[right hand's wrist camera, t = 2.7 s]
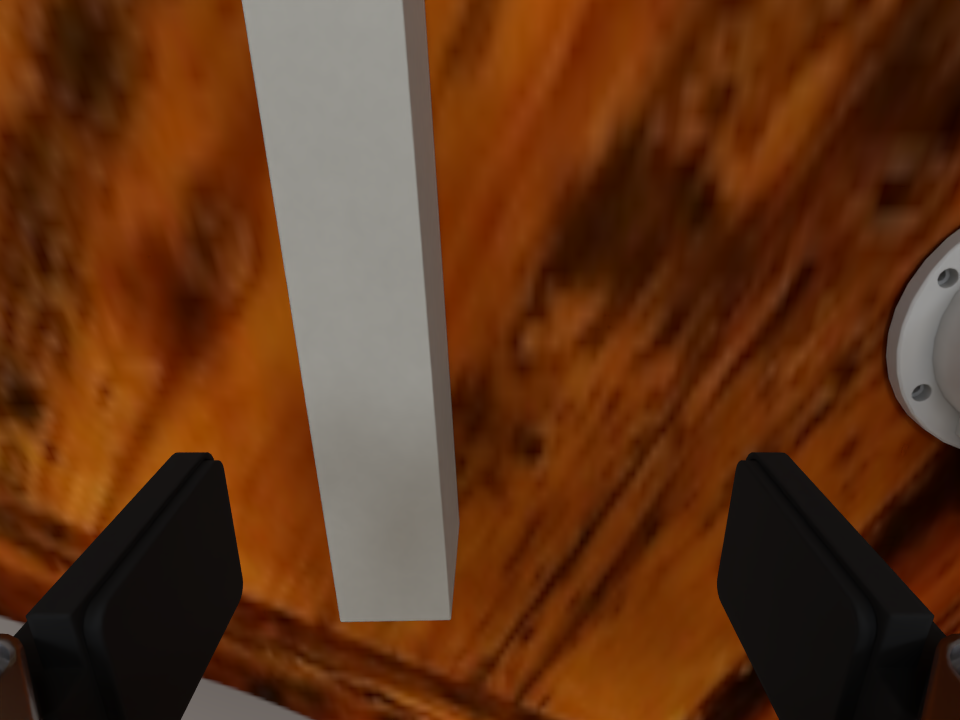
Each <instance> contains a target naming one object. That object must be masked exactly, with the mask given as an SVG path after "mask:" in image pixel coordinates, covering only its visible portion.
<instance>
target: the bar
mask: <svg viewBox="0 0 960 720" xmlns="http://www.w3.org/2000/svg"><path fill="white" fill-rule="evenodd" d="M242 5H243V11H244V17H245V24H246V30H247V36H248V43H249V49H250V55H251V61H252V68H253V74H254V80H255V87H256V93H257V99H258V106H259V112H260V118H261V124H262V131H263V137H264V143H265V150H266V156H267V162H268V168H269V175H270V181H271V187H272V194H273V200H274V206H275V212H276V219H277V225H278V231H279V238H280V244H281V250H282V256H283V263H284V269H285V275H286V282H287V288H288V294H289V300H290V307H291V313H292V319H293V326H294V332H295V338H296V344H297V351H298V357H299V363H300V370H301V376H302V382H303V388H304V395H305V401H306V407H307V414H308V420H309V426H310V432H311V439H312V445H313V451H314V458H315V464H316V470H317V476H318V483H319V489H320V495H321V502H322V508H323V514H324V520H325V527H326V533H327V539H328V546H329V552H330V558H331V564H332V571H333V577H334V583H335V590H336V596H337V602H338V608H339V615H340V621H341V622H363V621H418V620H450V619H451V613H452V601H453V590H454V579H455V567H456V556H457V545H458V533H459V511H458V496H457V481H456V466H455V451H454V436H453V421H452V406H451V391H450V376H449V361H448V346H447V331H446V317H445V302H444V287H443V272H442V257H441V242H440V227H439V212H438V197H437V182H436V167H435V152H434V137H433V122H432V108H431V93H430V78H429V63H428V48H427V33H426V18H425V3H424V0H242Z"/></svg>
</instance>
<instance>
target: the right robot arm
mask: <svg viewBox="0 0 960 720" xmlns="http://www.w3.org/2000/svg"><path fill="white" fill-rule="evenodd" d="M886 361H887V369H888V377H889V381H890V383H891V386H892V389H893V391H894V394H895V397H896V399H897V400H898V402H899V403H900V405H901V406H902V408H903V409H904V410H905V412H906V413H907V415H908V416H909V417H911V418H912V419H913V420H914V421H915V422H916V423H917V424H918V425H920V426H921V427H922V428H923V429H924V430H926V431H927V432H929V433H930V434H932V435H933V436H935V437H936V438H938V439H939V440H941V441H942V442H944V443H947V444H949V445H952V446H954V447H957V448H959V449H960V229H959V230H957V231H956V232H955V233H953V234H952V235H951V236H949V237H948V238H947V239H946V240H945V241H944V242H943V243H942V244H941V245H940V246H939V247H938V248H937V249H936V250H935V251H934V252H933V253H932V254H931V255H930V256H929V257H928V258H927V259H926V260H925V261H924V262H923V264H922V265H921V267H920V268H919V269H918V271H917V272H916V273H915V275H914V276H913V277H912V279H911V280H910V282H909V283H908V285H907V287H906V289H905V291H904V293H903V295H902V297H901V299H900V300H899V302H898V304H897V306H896V309H895V312H894V315H893V319H892V322H891V325H890V328H889V332H888V340H887V351H886ZM242 590H243V578H242V572H241V566H240V560H239V554H238V549H237V543H236V537H235V531H234V525H233V519H232V513H231V508H230V502H229V496H228V490H227V484H226V478H225V472H224V467H223V464H222V463H221V461H219V460H214V458H213V457H212V455H211V454H210V453H175V454H173V455H172V456H171V457H170V458H169V459H168V460H167V462H166V463H165V464H164V465H163V466H162V467H161V468H160V469H159V470H158V471H157V472H156V474H155V475H154V476H153V477H152V478H151V479H150V480H149V481H148V482H147V483H146V485H145V486H144V487H143V488H142V489H141V490H140V491H139V492H138V493H137V494H136V496H135V497H134V498H133V499H132V500H131V501H130V502H129V503H128V504H127V505H126V506H125V508H124V509H123V510H122V511H121V512H120V513H119V514H118V515H117V516H116V517H115V519H114V520H113V521H112V522H111V523H110V524H109V525H108V526H107V527H106V528H105V529H104V531H103V532H102V533H101V534H100V535H99V536H98V537H97V538H96V539H95V540H94V542H93V543H92V544H91V545H90V546H89V547H88V548H87V549H86V550H85V551H84V553H83V554H82V555H81V556H80V557H79V558H78V559H77V560H76V561H75V562H74V563H73V565H72V566H71V567H70V568H69V569H68V570H67V571H66V572H65V573H64V574H63V576H62V577H61V578H60V579H59V580H58V581H57V582H56V583H55V584H54V585H53V587H52V588H51V589H50V590H49V591H48V592H47V593H46V594H45V595H44V596H43V597H42V599H41V600H40V601H39V602H38V603H37V604H36V605H35V606H34V607H33V608H32V610H31V611H30V612H29V613H28V614H27V615H26V618H27V622H26V623H25V624H24V625H23V626H22V628H21V629H20V630H19V631H18V632H17V633H16V634H15V635H14V636H11V635H9V634H0V720H181V718H182V716H183V714H184V712H185V710H186V708H187V706H188V704H189V702H190V700H191V698H192V696H193V694H194V692H195V690H196V688H197V686H198V684H199V682H200V680H201V678H202V676H203V674H204V672H205V670H206V668H207V666H208V664H209V662H210V660H211V658H212V656H213V654H214V652H215V650H216V648H217V646H218V644H219V642H220V640H221V638H222V636H223V634H224V632H225V630H226V628H227V626H228V624H229V622H230V620H231V617H232V615H233V613H234V611H235V609H236V607H237V605H238V603H239V601H240V599H241V595H242ZM717 590H718V595H719V599H720V601H721V603H722V605H723V607H724V609H725V611H726V613H727V615H728V617H729V620H730V622H731V624H732V626H733V628H734V630H735V632H736V634H737V636H738V638H739V640H740V642H741V644H742V646H743V648H744V650H745V652H746V654H747V656H748V658H749V660H750V662H751V664H752V666H753V668H754V670H755V672H756V674H757V676H758V678H759V680H760V682H761V684H762V686H763V688H764V690H765V692H766V694H767V696H768V698H769V700H770V702H771V704H772V706H773V708H774V710H775V712H776V714H777V716H778V718H779V720H960V634H951V635H949V636H946V635H945V634H944V633H943V632H942V631H941V630H940V629H939V628H938V626H937V625H936V624H935V623H934V622H933V618H934V615H933V614H932V613H931V612H930V611H929V610H928V608H927V607H926V606H925V605H924V604H923V603H922V602H921V601H920V600H919V599H918V597H917V596H916V595H915V594H914V593H913V592H912V591H911V590H910V589H909V588H908V587H907V585H906V584H905V583H904V582H903V581H902V580H901V579H900V578H899V577H898V576H897V574H896V573H895V572H894V571H893V570H892V569H891V568H890V567H889V566H888V565H887V563H886V562H885V561H884V560H883V559H882V558H881V557H880V556H879V555H878V554H877V553H876V551H875V550H874V549H873V548H872V547H871V546H870V545H869V544H868V543H867V542H866V540H865V539H864V538H863V537H862V536H861V535H860V534H859V533H858V532H857V531H856V529H855V528H854V527H853V526H852V525H851V524H850V523H849V522H848V521H847V520H846V519H845V517H844V516H843V515H842V514H841V513H840V512H839V511H838V510H837V509H836V508H835V506H834V505H833V504H832V503H831V502H830V501H829V500H828V499H827V498H826V497H825V496H824V494H823V493H822V492H821V491H820V490H819V489H818V488H817V487H816V486H815V485H814V483H813V482H812V481H811V480H810V479H809V478H808V477H807V476H806V475H805V474H804V472H803V471H802V470H801V469H800V468H799V467H798V466H797V465H796V464H795V463H794V462H793V460H792V459H791V458H790V457H789V456H788V455H787V454H785V453H750V454H749V455H748V457H747V458H746V460H741V461H739V463H738V464H737V467H736V472H735V478H734V484H733V490H732V496H731V502H730V508H729V513H728V519H727V525H726V531H725V537H724V543H723V549H722V554H721V560H720V566H719V572H718V578H717Z"/></svg>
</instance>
